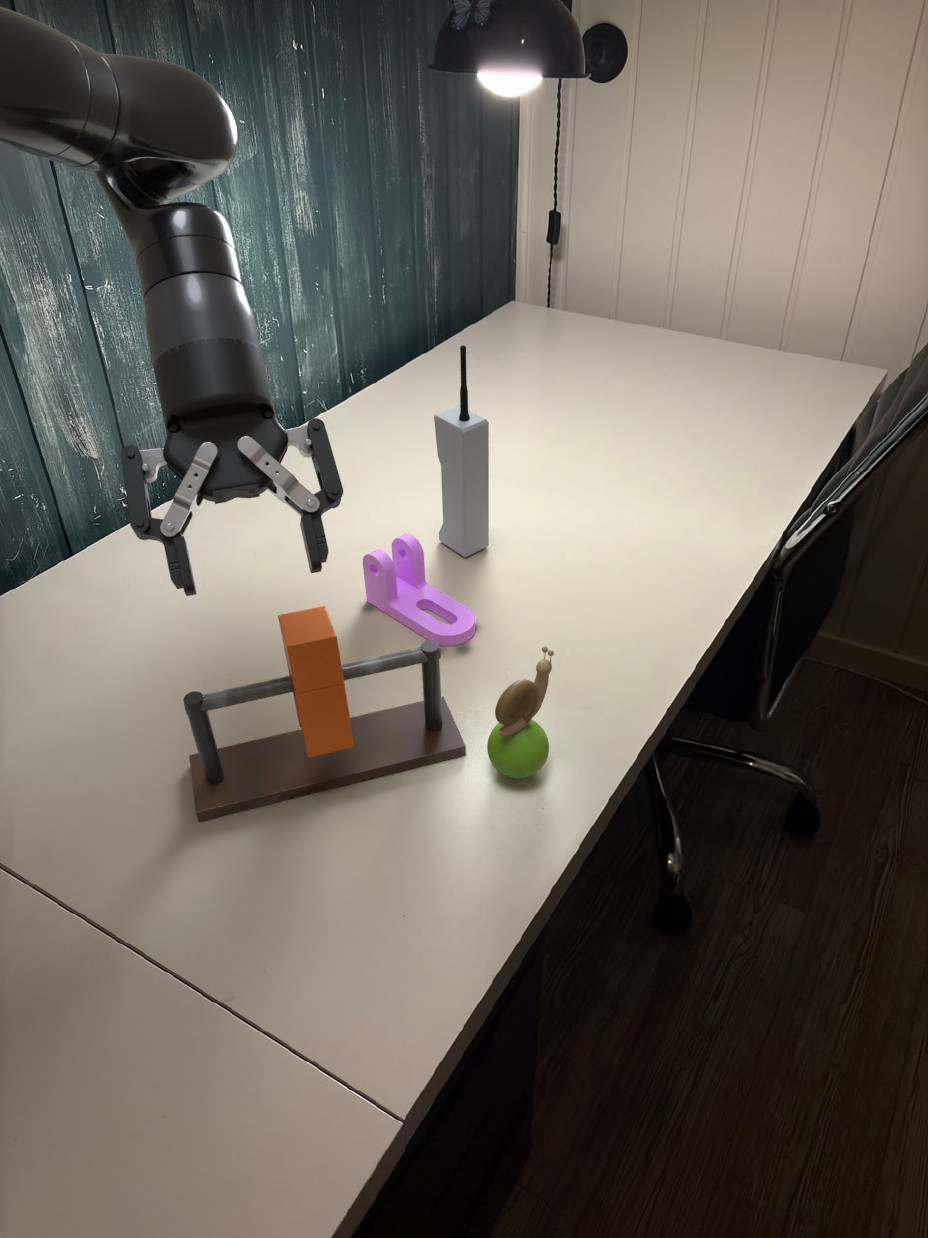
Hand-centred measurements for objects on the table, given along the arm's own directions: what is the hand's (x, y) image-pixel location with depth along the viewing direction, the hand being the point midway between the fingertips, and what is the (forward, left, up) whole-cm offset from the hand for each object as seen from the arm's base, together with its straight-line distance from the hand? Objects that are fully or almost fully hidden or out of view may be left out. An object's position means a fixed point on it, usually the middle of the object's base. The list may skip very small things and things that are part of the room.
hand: (255, 581), depth 63 cm
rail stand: (+5, +5, -25) cm, 26 cm away
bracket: (+22, +20, -25) cm, 39 cm away
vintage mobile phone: (+32, +30, -25) cm, 51 cm away
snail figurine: (+20, -4, -25) cm, 32 cm away
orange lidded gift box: (+4, +4, -21) cm, 22 cm away
